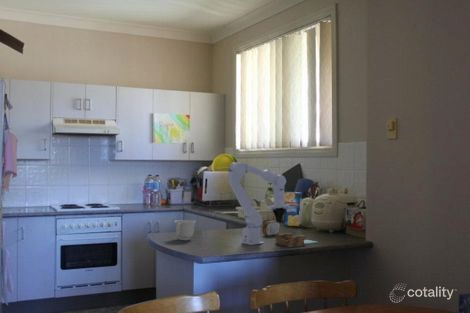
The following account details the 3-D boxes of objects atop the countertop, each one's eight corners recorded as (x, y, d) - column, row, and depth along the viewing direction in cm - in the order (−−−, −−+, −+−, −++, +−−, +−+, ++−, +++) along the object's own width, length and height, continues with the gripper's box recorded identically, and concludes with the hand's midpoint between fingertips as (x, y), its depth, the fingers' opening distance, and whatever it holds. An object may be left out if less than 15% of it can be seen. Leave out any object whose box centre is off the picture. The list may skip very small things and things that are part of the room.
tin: (276, 233, 306) (276, 219, 306) (281, 234, 304) (281, 219, 304) (261, 236, 294) (261, 221, 294) (266, 236, 292) (266, 222, 292)
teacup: (167, 241, 272) (167, 222, 272) (179, 237, 286) (180, 219, 286) (187, 242, 268) (188, 223, 268) (199, 238, 282) (199, 220, 282)
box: (288, 247, 259) (288, 237, 259) (274, 244, 266) (275, 234, 266) (305, 244, 266) (305, 235, 266) (291, 242, 274) (291, 232, 274)
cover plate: (303, 245, 267) (303, 243, 267) (292, 243, 273) (292, 241, 273) (317, 243, 274) (317, 241, 274) (306, 241, 280) (306, 239, 280)
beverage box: (299, 226, 340) (300, 193, 341) (283, 225, 344) (284, 192, 344) (301, 224, 347) (302, 192, 347) (285, 224, 351) (286, 191, 351)
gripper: (274, 198, 267) (274, 224, 267) (293, 196, 276) (293, 222, 276) (265, 197, 273) (265, 223, 273) (284, 196, 282) (284, 220, 282)
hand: (278, 222), depth 275 cm, fingers closed
